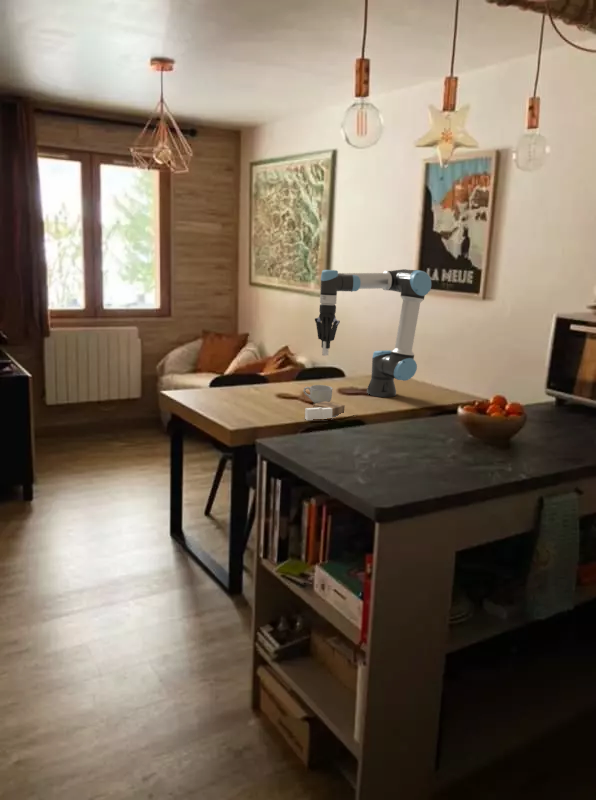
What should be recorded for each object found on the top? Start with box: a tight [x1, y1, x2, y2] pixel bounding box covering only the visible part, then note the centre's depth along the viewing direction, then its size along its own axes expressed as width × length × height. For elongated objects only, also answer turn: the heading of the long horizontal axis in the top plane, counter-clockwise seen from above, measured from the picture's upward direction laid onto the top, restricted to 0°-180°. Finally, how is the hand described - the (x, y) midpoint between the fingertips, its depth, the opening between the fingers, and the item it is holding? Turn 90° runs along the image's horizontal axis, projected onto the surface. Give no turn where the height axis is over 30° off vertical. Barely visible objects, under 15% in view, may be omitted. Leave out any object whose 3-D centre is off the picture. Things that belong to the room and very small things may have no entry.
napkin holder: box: [304, 407, 333, 421], centre depth 295 cm, size 15×11×6 cm
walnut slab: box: [312, 401, 346, 416], centre depth 307 cm, size 9×4×11 cm
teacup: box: [303, 384, 334, 404], centre depth 326 cm, size 14×11×8 cm
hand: (325, 355), depth 315 cm, fingers closed
